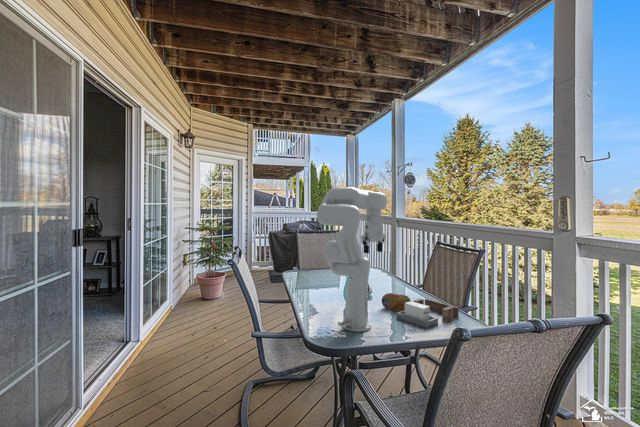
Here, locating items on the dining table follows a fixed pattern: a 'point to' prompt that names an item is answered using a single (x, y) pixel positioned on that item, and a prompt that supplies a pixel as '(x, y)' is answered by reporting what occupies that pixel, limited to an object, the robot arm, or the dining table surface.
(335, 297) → the dining table surface
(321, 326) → the dining table surface
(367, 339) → the dining table surface
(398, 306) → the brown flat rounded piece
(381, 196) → the robot arm
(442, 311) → the bay
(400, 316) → the tray
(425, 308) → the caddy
